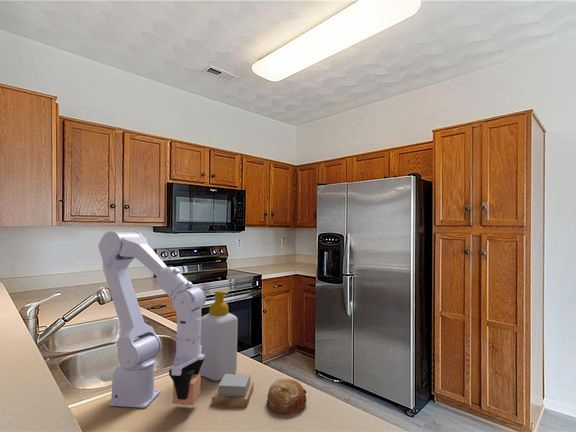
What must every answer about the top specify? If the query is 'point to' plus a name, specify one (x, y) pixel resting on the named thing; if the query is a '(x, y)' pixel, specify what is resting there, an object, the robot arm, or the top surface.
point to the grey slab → (234, 385)
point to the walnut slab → (232, 398)
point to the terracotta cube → (193, 391)
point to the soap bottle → (219, 340)
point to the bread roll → (286, 396)
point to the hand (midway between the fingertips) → (186, 392)
